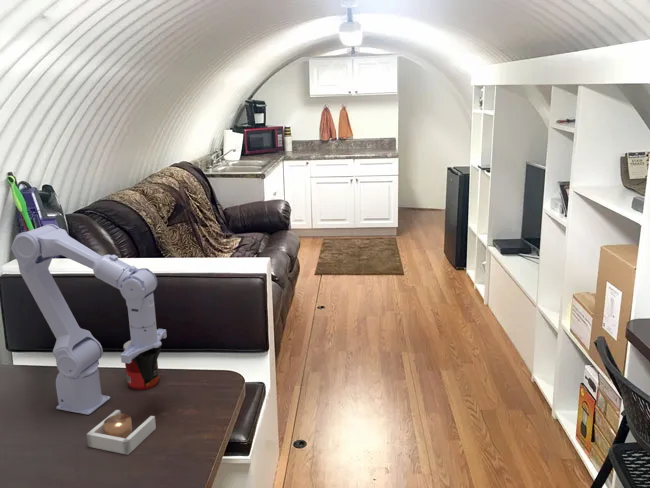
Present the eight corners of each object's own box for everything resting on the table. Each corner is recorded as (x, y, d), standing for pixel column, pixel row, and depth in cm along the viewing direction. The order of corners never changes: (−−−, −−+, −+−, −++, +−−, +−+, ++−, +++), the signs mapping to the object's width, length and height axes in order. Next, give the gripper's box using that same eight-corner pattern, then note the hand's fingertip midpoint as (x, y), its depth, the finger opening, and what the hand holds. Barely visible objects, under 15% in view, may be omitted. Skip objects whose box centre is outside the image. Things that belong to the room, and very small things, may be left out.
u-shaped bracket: (87, 446, 120) (86, 434, 119) (118, 421, 129) (116, 409, 129) (128, 454, 117) (126, 442, 117) (155, 428, 126) (154, 416, 126)
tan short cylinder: (100, 444, 121) (98, 427, 120) (113, 429, 127) (111, 413, 126) (125, 445, 120) (123, 429, 119) (137, 430, 126) (135, 414, 125)
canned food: (150, 391, 142) (146, 351, 139) (121, 389, 144) (116, 349, 141) (164, 377, 149) (161, 338, 147) (137, 374, 151) (132, 336, 148)
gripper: (138, 338, 120) (144, 396, 123) (175, 313, 133) (180, 366, 137) (110, 334, 122) (116, 391, 125) (150, 310, 135) (154, 362, 139)
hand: (147, 378), depth 131 cm, fingers closed
